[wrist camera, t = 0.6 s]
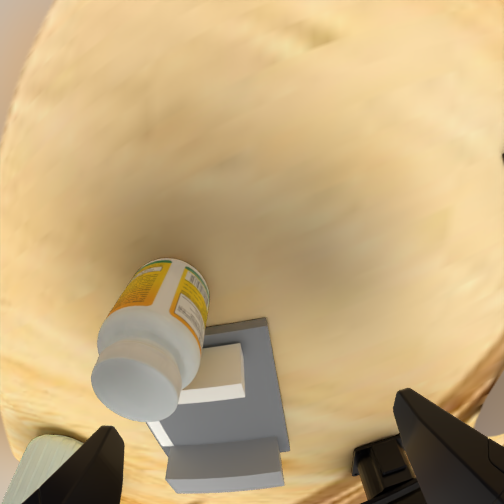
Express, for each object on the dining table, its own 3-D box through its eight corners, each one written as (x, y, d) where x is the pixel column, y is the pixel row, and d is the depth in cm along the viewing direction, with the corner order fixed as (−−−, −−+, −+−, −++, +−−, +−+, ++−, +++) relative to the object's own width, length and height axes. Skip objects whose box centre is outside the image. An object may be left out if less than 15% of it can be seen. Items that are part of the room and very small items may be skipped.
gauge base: (289, 443, 27) (295, 483, 23) (172, 454, 28) (167, 493, 23) (266, 317, 22) (273, 363, 17) (109, 339, 22) (87, 382, 18)
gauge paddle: (243, 356, 22) (245, 397, 18) (114, 370, 22) (98, 406, 18) (240, 343, 21) (241, 383, 17) (107, 358, 21) (90, 394, 18)
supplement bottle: (221, 272, 21) (212, 372, 12) (196, 335, 22) (179, 443, 13) (142, 243, 20) (81, 325, 11) (125, 310, 21) (75, 407, 12)
